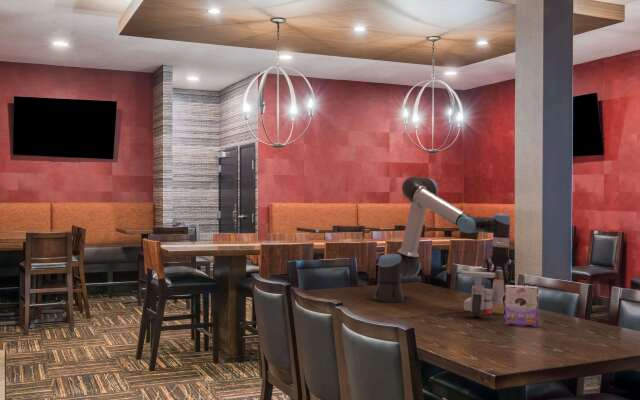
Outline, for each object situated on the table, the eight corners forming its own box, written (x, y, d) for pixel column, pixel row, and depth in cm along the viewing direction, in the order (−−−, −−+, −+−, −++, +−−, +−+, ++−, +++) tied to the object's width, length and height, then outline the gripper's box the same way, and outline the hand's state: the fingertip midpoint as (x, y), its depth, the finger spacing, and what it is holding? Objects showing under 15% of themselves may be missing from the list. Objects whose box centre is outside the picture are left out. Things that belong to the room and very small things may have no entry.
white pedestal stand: (459, 317, 307) (460, 272, 307) (463, 313, 317) (465, 270, 317) (491, 320, 301) (492, 274, 301) (494, 316, 311) (496, 272, 311)
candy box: (537, 325, 293) (539, 286, 293) (537, 327, 287) (538, 287, 287) (504, 322, 297) (505, 284, 297) (503, 324, 292) (504, 285, 292)
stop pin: (493, 305, 326) (494, 280, 326) (494, 304, 330) (495, 279, 330) (501, 306, 325) (502, 280, 325) (502, 305, 328) (503, 280, 328)
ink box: (492, 314, 318) (493, 288, 318) (485, 315, 314) (486, 289, 315) (477, 312, 324) (478, 286, 324) (470, 312, 321) (471, 287, 321)
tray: (484, 312, 324) (485, 303, 324) (463, 310, 328) (463, 301, 328) (490, 307, 339) (490, 299, 339) (470, 306, 343) (470, 297, 343)
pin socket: (487, 312, 325) (487, 305, 325) (490, 309, 333) (490, 303, 333) (506, 313, 321) (507, 307, 321) (509, 311, 329) (509, 305, 329)
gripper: (481, 245, 327) (479, 294, 327) (517, 248, 320) (515, 298, 321) (484, 244, 334) (481, 293, 334) (519, 247, 327) (517, 296, 328)
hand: (498, 295), depth 327 cm, fingers closed on stop pin, 4 cm apart
